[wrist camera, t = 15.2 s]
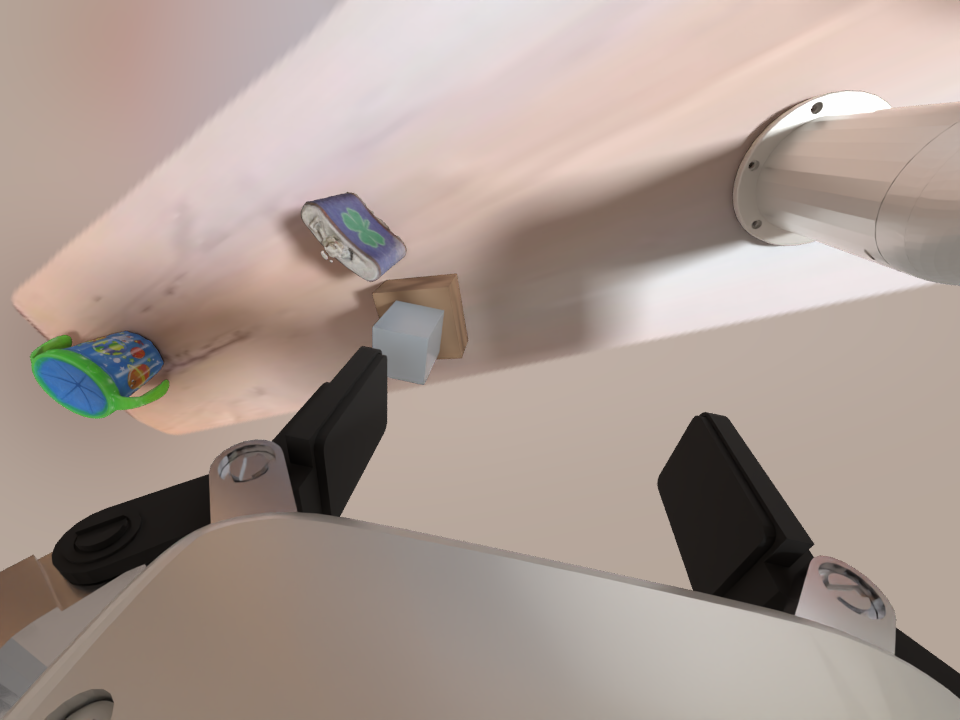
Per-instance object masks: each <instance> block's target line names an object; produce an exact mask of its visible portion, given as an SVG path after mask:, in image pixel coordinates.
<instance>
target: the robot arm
mask: <svg viewBox="0 0 960 720" xmlns="http://www.w3.org/2000/svg"><path fill="white" fill-rule="evenodd" d="M812 106H813V110H812V111H811V107H812ZM751 162H752V166H751V167H750V168H748V167H749V164H750V163H751ZM733 205H734V210H735V213H736V216H737V219H738V220H739V222H740V224H741V225H742V227H743V228H744V229H745V230H746V231H747V232H748V233H749V234H750V235H752V236H754V237H756V238H758V239H759V240H762V241H764V242H767V243H769V244H775V245H780V246H796V245H801V244H807V243H811V242H814V241H817V242H820V243H823V244H826V245H828V246H831V247H834V248H837V249H839V250H842V251H845V252H848V253H850V254H853V255H856V256H859V257H861V258H864V259H867V260H870V261H873V262H875V263H878V264H881V265H884V266H886V267H889V268H892V269H895V270H897V271H900V272H903V273H906V274H909V275H912V276H915V277H917V278H921V279H924V280H927V281H931V282H935V283H941V284H948V285H958V286H960V102H950V103H940V104H929V105H918V106H907V107H897V108H892V107H891V106H890V105H889V103H888V102H886V101H885V100H883V99H882V98H880V97H878V96H877V95H875V94H871V93H867V92H864V91H850V90H845V91H838V92H831V93H827V94H823V95H820V96H816V97H813V98H811V99H808V100H806V101H804V102H802V103H799V104H797V105H796V106H794V107H793V108H791V109H789V110H788V111H786V112H785V113H783V114H782V115H780V116H779V117H778V118H777V119H776V120H774V121H773V122H772V123H771V124H770V125H768V126H767V128H766V129H765V130H764V131H763V132H762V133H761V134H760V135H759V136H758V137H757V138H756V140H755V141H754V143H753V144H752V145H751V147H750V148H749V150H748V151H747V153H746V154H745V156H744V158H743V160H742V162H741V164H740V166H739V169H738V172H737V175H736V178H735V182H734V189H733ZM754 221H755V223H754V224H753V225H752V223H753V222H754ZM386 424H387V356H386V355H382V351H381V350H380V349H375V348H370V347H365V346H362V347H360V348H359V350H358V351H357V352H356V353H355V354H354V355H353V357H352V358H351V359H350V360H349V361H348V362H347V364H346V365H345V366H344V367H343V368H342V369H341V371H340V372H339V373H338V374H337V375H336V376H335V377H334V379H333V380H332V381H331V382H330V383H329V382H326V383H324V384H323V385H321V386H320V388H319V389H318V390H317V391H316V392H315V393H314V394H313V395H312V397H311V398H310V399H309V400H308V401H307V402H306V403H305V404H304V406H303V407H302V408H301V409H300V410H299V411H298V412H297V413H296V415H295V416H294V417H293V418H292V419H291V420H290V421H289V422H288V424H287V425H286V426H285V427H284V428H283V429H282V430H281V432H280V433H279V434H278V435H277V436H276V437H275V438H274V439H273V441H272V442H271V441H267V440H250V441H244V442H241V443H239V444H236V445H234V446H231V447H230V448H228V449H226V450H224V451H223V452H222V453H221V454H220V455H218V456H217V457H216V458H215V460H214V461H213V463H212V464H211V466H210V471H209V474H208V475H205V476H202V477H199V478H196V479H193V480H190V481H187V482H184V483H181V484H178V485H175V486H172V487H169V488H166V489H163V490H160V491H157V492H154V493H151V494H148V495H145V496H142V497H139V498H136V499H133V500H130V501H127V502H124V503H121V504H118V505H115V506H112V507H109V508H106V509H104V510H101V511H99V512H97V513H94V514H92V515H90V516H89V517H87V518H85V519H83V520H82V521H80V522H78V523H77V524H76V525H74V526H73V527H72V528H71V529H70V530H69V531H67V532H66V533H65V534H64V535H63V536H62V538H61V539H60V540H59V541H58V542H57V544H56V545H55V548H54V550H53V552H51V553H49V554H47V555H45V556H44V557H42V558H40V559H37V558H36V557H35V556H34V555H32V556H30V557H28V558H26V559H24V560H22V561H20V562H18V563H17V564H14V565H12V566H10V567H8V568H6V569H5V570H3V571H1V572H0V720H960V674H959V673H958V672H957V671H955V670H954V669H952V668H951V667H950V666H948V665H947V664H946V663H944V662H943V661H942V660H940V659H938V658H937V657H936V656H935V655H933V654H932V653H930V652H929V651H928V650H926V649H925V648H924V647H922V646H921V645H919V644H918V643H917V642H915V641H914V640H912V639H911V638H910V637H908V636H907V635H905V634H904V633H903V632H902V631H900V630H899V629H897V628H896V616H895V612H894V609H893V607H892V605H891V604H890V602H889V600H888V599H887V598H886V596H885V595H884V594H883V593H882V591H881V590H880V589H879V588H878V587H877V586H876V585H875V584H874V583H873V582H872V581H871V580H869V579H868V578H867V577H866V576H865V575H863V574H862V573H860V572H859V571H858V570H856V569H855V568H853V567H852V566H850V565H848V564H846V563H844V562H842V561H840V560H838V559H835V558H832V557H828V556H817V557H813V555H812V554H811V552H810V551H809V549H810V548H811V547H812V546H813V545H814V543H813V541H812V540H811V539H810V537H809V536H808V534H807V533H806V531H805V530H804V528H803V527H802V525H801V524H800V522H799V521H798V520H797V518H796V517H795V515H794V514H793V512H792V511H791V509H790V508H789V506H788V505H787V503H786V502H785V501H784V499H783V498H782V496H781V495H780V493H779V492H778V490H777V489H776V488H775V486H774V484H773V483H772V481H771V480H770V479H769V477H768V476H767V474H766V473H765V471H764V470H763V469H762V467H761V465H760V464H759V462H758V461H757V459H756V458H755V457H754V455H753V454H752V452H751V451H750V449H749V448H748V447H747V445H746V444H745V442H744V441H743V439H742V438H741V436H740V435H739V433H738V432H737V430H736V429H735V427H734V426H733V424H732V423H731V422H730V420H729V419H728V418H727V417H726V416H721V415H717V414H712V413H707V412H704V413H702V414H700V415H699V416H695V417H694V418H693V419H692V421H691V422H690V424H689V426H688V427H687V429H686V431H685V433H684V434H683V436H682V438H681V440H680V441H679V443H678V445H677V446H676V448H675V450H674V451H673V453H672V455H671V456H670V458H669V460H668V462H667V463H666V465H665V467H664V468H663V470H662V472H661V474H660V475H659V478H658V490H659V493H660V496H661V499H662V501H663V504H664V507H665V510H666V513H667V516H668V519H669V521H670V525H671V528H672V531H673V533H674V536H675V539H676V542H677V545H678V548H679V551H680V554H681V557H682V560H683V562H684V565H685V568H686V571H687V574H688V577H689V580H690V583H691V585H692V589H693V591H692V590H687V589H683V588H678V587H674V586H669V585H664V584H660V583H656V582H651V581H647V580H642V579H637V578H633V577H628V576H624V575H619V574H615V573H610V572H605V571H601V570H596V569H592V568H586V567H582V566H577V565H573V564H568V563H563V562H559V561H554V560H549V559H545V558H540V557H536V556H531V555H526V554H521V553H517V552H512V551H507V550H503V549H498V548H493V547H488V546H483V545H479V544H474V543H469V542H465V541H460V540H455V539H450V538H445V537H440V536H436V535H431V534H426V533H421V532H416V531H411V530H407V529H402V528H396V527H392V526H386V525H380V524H376V523H370V522H366V521H360V520H355V519H350V518H344V517H340V515H341V513H342V512H343V510H344V508H345V506H346V504H347V502H348V500H349V498H350V496H351V495H352V493H353V491H354V489H355V487H356V485H357V483H358V481H359V479H360V478H361V476H362V474H363V472H364V470H365V468H366V466H367V464H368V462H369V460H370V458H371V457H372V455H373V453H374V451H375V449H376V447H377V445H378V443H379V442H380V440H381V438H382V436H383V434H384V432H385V429H386Z"/></svg>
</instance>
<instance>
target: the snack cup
mask: <svg viewBox="0 0 960 720" xmlns="http://www.w3.org/2000/svg"><path fill="white" fill-rule="evenodd" d="M71 345H72V339H71V337H70V336H67V335H63V336H58V337H56V338H53V339H51V340H49V341H48V342H46V343H44V344H42V345H41V346H40V347H38V348H37V349H35V350H34V351H33V352H32V354H31V356H30V358H31V363H32V372H33V374H34V377H35V379H36V380H37V382H38V383H39V385H40V386H41V387H42V388H43V390H44V391H45V392H46V393H47V394H48V395H49V396H50V397H52V398H53V399H54V400H55V401H56V402H58V403H59V404H61V405H62V406H63V407H65V408H67V409H69V410H70V411H72V412H74V413H76V414H79V415H81V416H84V417H88V418H104V417H106V416H108V415H110V414H111V413H113V412H114V411H116V410H127V409H133V408H137V407H140V406H143V405H146V404H148V403H151V402H153V401H155V400H157V399H159V398H161V397H162V396H163V395H164V394H165V393H166V392H167V390H168V388H169V381H168V380H164V381H163V382H162V383H161V384H160V385H158V386H157V387H155V388H154V389H152V390H150V391H149V392H147V393H145V394H144V395H142V396H140V397H129V396H131V395H132V394H133V393H134V392H135V391H137V390H138V389H139V388H140V387H141V386H142V385H144V384H145V383H146V382H148V381H149V380H150V379H151V378H152V377H153V376H154V375H155V374H157V373H158V372H159V371H160V369H161V367H162V365H163V364H164V363H163V360H162V358H161V356H160V353H159V352H158V350H157V349H156V348H155V346H154V345H153V343H152V342H151V341H149V340H146V339H145V338H143V337H142V336H140V335H138V334H135V333H130V332H128V331H124V332H120V333H115V334H111V335H108V336H105V337H101V338H97V339H94V340H90V341H87V342H84V343H80V344H78V345H76V346H73V347H71Z"/></svg>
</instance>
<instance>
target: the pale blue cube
mask: <svg viewBox="0 0 960 720" xmlns="http://www.w3.org/2000/svg"><path fill="white" fill-rule="evenodd" d="M443 317H444V310H440V309H435V308H430V307H426V306H421V305H416V304H411V303H406V302H401V301H395V302H394V303H393V305H392V306H391V307H390V308H389V309H388V310H387V311H386V312H385V314H384V315H383V316H382V317H381V318H380V319H379V320H378V321H377V323H376V324H375V325H374V326H373V327H372V348H375V349H380V350H381V351H382V355H386V356H387V377H389V378H393V379H398V380H403V381H407V382H412V383H417V384H421V385H424V384H425V382H426V380H427V378H428V375H429V373H430V371H431V369H432V367H433V365H434V363H435V361H436V358H437V356H438V354H439V351H440V343H441V334H442V326H443Z"/></svg>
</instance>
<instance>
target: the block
mask: <svg viewBox="0 0 960 720" xmlns="http://www.w3.org/2000/svg"><path fill="white" fill-rule="evenodd" d="M372 295H373V299H374V302H375V306H376V309H377V312H378V316H379V319H380V318H381V317H382V316H383V315H384V314H385V312H386V311H387V310H388V309H389V308H390V307H391V306H392V305H393V303H394V302H395V301H401V302H406V303H411V304H416V305H421V306H426V307H430V308H435V309H440V310H444V317H443V326H442V334H441V343H440V351H439V354H438V356H437V358H436V359H456V358H462V356H463V353H464V350H465V348H466V345H467V342H468V337H467V331H466V325H465V319H464V313H463V307H462V301H461V295H460V289H459V284H458V278H457V274H447V275H437V276H426V277H416V278H405V279H394V280H386V281H385V282H384V283H383V284H382V285H381V286H380V287H379V288H378V289H377V290H375V291H374V292H373V293H372Z"/></svg>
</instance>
